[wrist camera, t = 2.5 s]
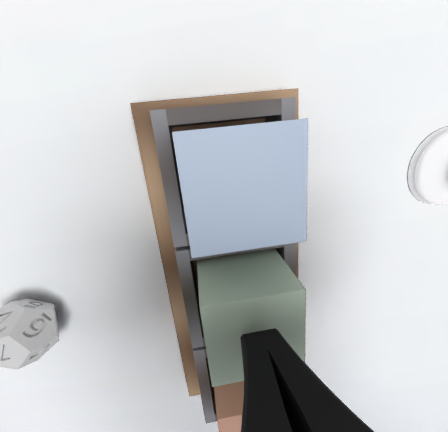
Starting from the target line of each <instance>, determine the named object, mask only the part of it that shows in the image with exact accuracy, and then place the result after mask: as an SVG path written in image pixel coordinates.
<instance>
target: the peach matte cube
mask: <svg viewBox="0 0 448 432" xmlns="http://www.w3.org/2000/svg"><path fill="white" fill-rule="evenodd" d="M214 392H215V402H216V413H217V422H218V428H219V432H241V425H242V412H243V400H244V381H241V382H236V383H231V384H226V385H221V386H216V387H214Z"/></svg>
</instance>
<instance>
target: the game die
mask: <svg viewBox="0 0 448 432" xmlns="http://www.w3.org/2000/svg"><path fill="white" fill-rule="evenodd" d="M58 341H59V332H58V322H57V316H56V311H55V306H54V304H53V303H48V302H43V301H38V300H33V299H23V300H16V301H10V302H9V303H8V304H6V305H5V306H4V307H3V308H1V309H0V367H5V368H13V369H19V368H21V367H24V366H26V365H28V364H30V363H32V362H34V361H36V360H38V359H39V358H40V357H41V356H42V355H43V354H45V353H46V352H47V351H48V350H49V349H50V348H51V347H52V346H53V345H54V344H55V343H57V342H58Z"/></svg>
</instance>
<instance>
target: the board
mask: <svg viewBox="0 0 448 432" xmlns="http://www.w3.org/2000/svg"><path fill="white" fill-rule="evenodd" d="M130 104H131V109H132V114H133V119H134V124H135V129H136V134H137V139H138V144H139V149H140V154H141V159H142V164H143V169H144V174H145V179H146V184H147V189H148V194H149V198H150V203H151V208H152V213H153V218H154V223H155V228H156V233H157V238H158V243H159V248H160V253H161V258H162V263H163V268H164V273H165V278H166V283H167V288H168V292H169V297H170V302H171V307H172V312H173V317H174V322H175V327H176V332H177V337H178V342H179V347H180V352H181V357H182V362H183V367H184V372H185V377H186V382H187V387H188V391H189V396H194V395H199V394H201V398H202V404H203V410H204V415H205V421H206V423H210V422H215V421H217V413H216V402H215V392H214V387H212V384H211V377H210V371H209V364H208V358H207V352H206V345H205V339H204V333H203V326H202V320H201V314H200V307H199V289H198V272H197V261H198V260H205V259H211V258H218V257H225V256H231V255H238V254H244V253H251V252H258V251H264V250H271V249H276V251H277V252H278V253H279V255H280V256H281V257H282V259H283V260H284V261H285V263H286V264H287V265H288V267H289V268H290V269H291V270H292V272H293V273H294V274H295V276H296V277H297V278H298V242H297V243H290V244H284V245H277V246H270V247H264V248H257V249H250V250H244V251H237V252H230V253H224V254H217V255H210V256H204V257H197V258H192V256H191V250H190V244H189V237H188V231H187V225H186V218H185V212H184V205H183V199H182V193H181V186H180V180H179V174H178V167H177V161H176V155H175V148H174V142H173V135H172V132H177V131H187V130H197V129H207V128H217V127H227V126H236V125H246V124H256V123H266V122H276V121H286V120H296V119H298V88H297V89H285V90H274V91H263V92H252V93H240V94H229V95H218V96H207V97H195V98H184V99H173V100H161V101H150V102H139V103H130Z"/></svg>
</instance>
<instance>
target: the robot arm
mask: <svg viewBox="0 0 448 432" xmlns="http://www.w3.org/2000/svg"><path fill="white" fill-rule="evenodd" d="M240 339H241V349H242V360H243V371H244V400H243V412H242V425H241V432H374V431H373V430H372V429H370V428H369V427H368V426H367V425H366V424H365V423H364V422H363V421H362V420H361V419H359V418H358V417H357V416H356V415H355V414H354V413H353V412H352V411H351V410H350V409H349V408H348V407H347V406H346V405H345V404H344V403H343V402H342V401H341V400H340V399H339V398H338V397H337V396H336V395H335V394H334V393H333V392H332V391H331V390H330V389H329V388H328V387H327V386H326V385H325V384H324V383H323V382H322V381H321V380H320V379H319V378H318V377H317V376H316V374H315V373H314V372H313V371H312V370H311V369H310V368H309V367H308V366H307V365H306V364H305V362H304V361H303V360H302V359H301V358H300V357H299V355H298V354H297V353H296V352H295V351H294V350H293V348H292V347H291V346H290V345H289V344H288V342H287V341H286V340H285V339H284V337H283V336H282V335H281V333H280V332H279V331H278V330H277V329H276V328H274V329H268V330H263V331H257V332H252V333H246V334H243V335H242V336H241V337H240Z"/></svg>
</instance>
